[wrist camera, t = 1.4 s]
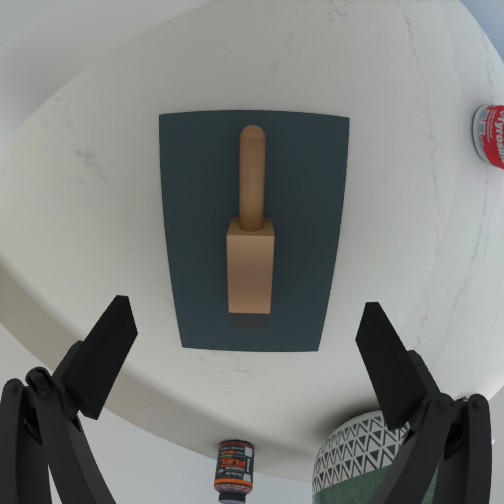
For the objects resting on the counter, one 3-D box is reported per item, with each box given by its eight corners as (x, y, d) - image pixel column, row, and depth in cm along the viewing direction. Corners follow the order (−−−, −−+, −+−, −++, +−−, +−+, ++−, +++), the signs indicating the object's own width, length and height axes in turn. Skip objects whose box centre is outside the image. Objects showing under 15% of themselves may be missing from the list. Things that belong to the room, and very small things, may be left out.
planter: (345, 454, 40) (358, 544, 20) (276, 431, 35) (279, 557, 15) (433, 404, 34) (469, 500, 14) (389, 366, 29) (441, 518, 9)
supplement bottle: (248, 437, 36) (245, 499, 26) (258, 451, 38) (257, 506, 28) (213, 440, 37) (205, 498, 26) (226, 453, 39) (221, 506, 29)
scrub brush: (232, 126, 18) (225, 124, 14) (274, 126, 18) (278, 125, 14) (233, 301, 24) (229, 331, 20) (267, 302, 24) (268, 332, 20)
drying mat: (161, 115, 18) (158, 114, 18) (347, 118, 18) (349, 117, 17) (183, 344, 27) (182, 347, 27) (317, 348, 27) (317, 351, 27)
